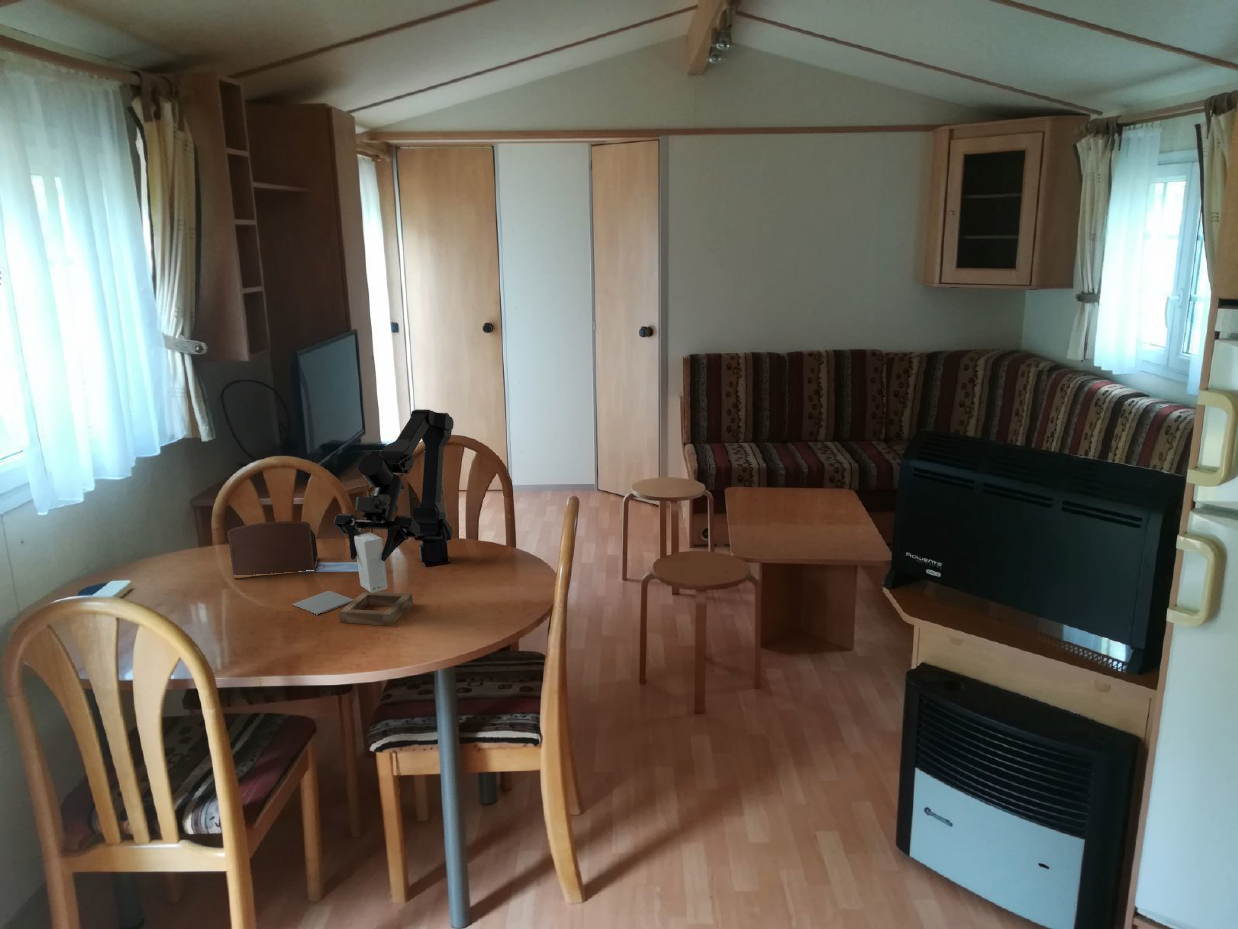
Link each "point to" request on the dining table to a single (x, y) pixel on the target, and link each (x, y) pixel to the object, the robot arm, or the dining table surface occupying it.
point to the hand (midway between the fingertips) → (367, 559)
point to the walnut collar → (388, 617)
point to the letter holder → (272, 548)
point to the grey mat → (323, 602)
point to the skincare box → (370, 562)
